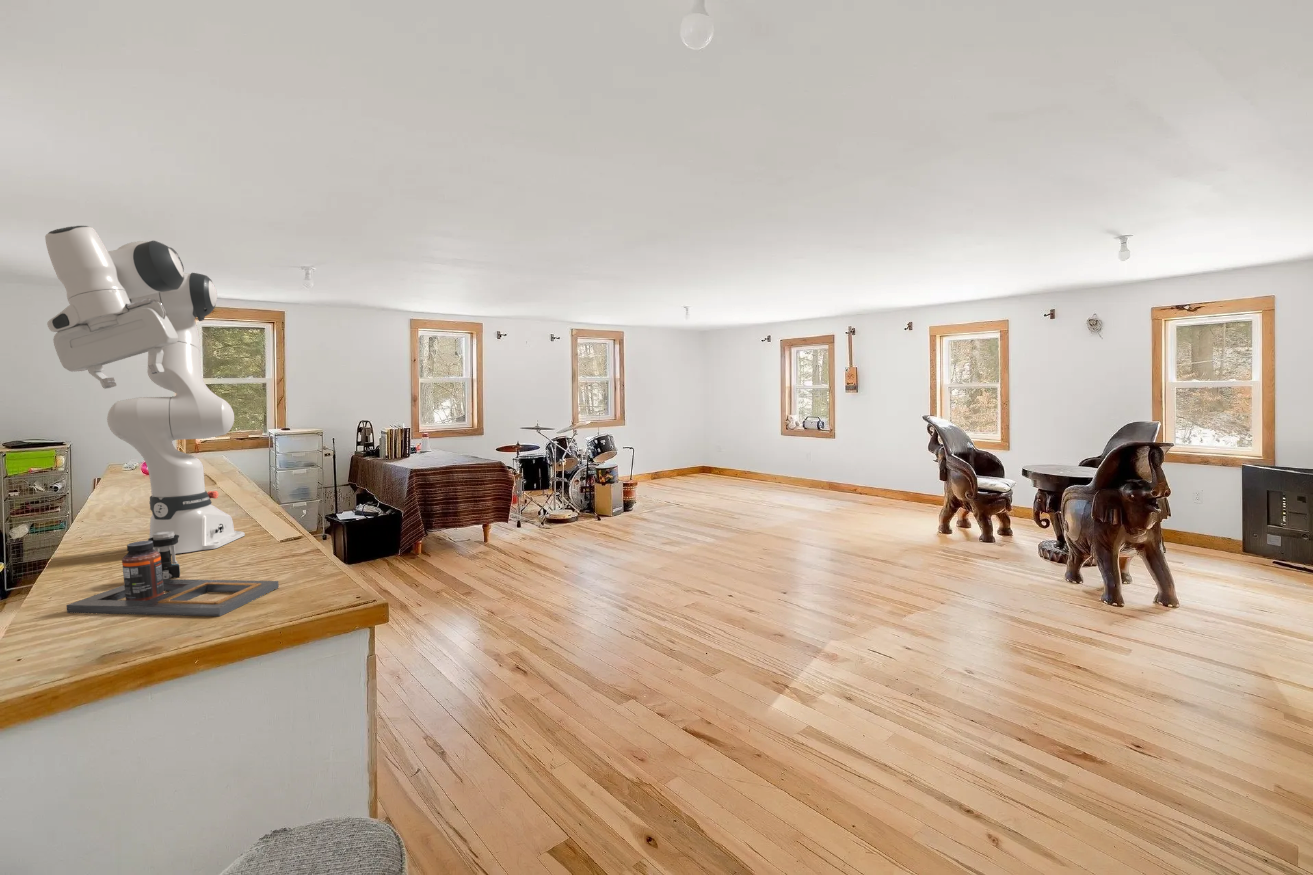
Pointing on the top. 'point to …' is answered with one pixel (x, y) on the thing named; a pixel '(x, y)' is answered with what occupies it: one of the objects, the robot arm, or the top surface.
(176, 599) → the grey rectangular frame
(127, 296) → the robot arm
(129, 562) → the supplement bottle
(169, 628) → the top surface
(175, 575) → the push button
